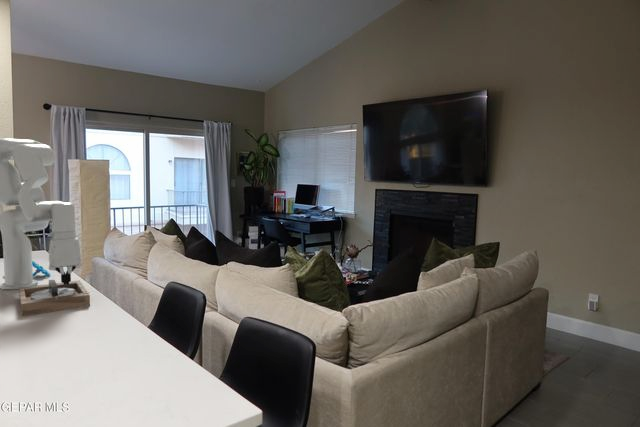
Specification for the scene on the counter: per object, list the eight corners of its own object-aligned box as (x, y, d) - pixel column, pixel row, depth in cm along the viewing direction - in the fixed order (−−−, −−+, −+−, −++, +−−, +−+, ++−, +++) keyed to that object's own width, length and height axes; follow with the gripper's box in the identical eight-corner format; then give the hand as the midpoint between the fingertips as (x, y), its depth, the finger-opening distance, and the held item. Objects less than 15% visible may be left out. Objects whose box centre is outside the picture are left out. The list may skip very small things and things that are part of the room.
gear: (50, 275, 192) (30, 260, 189) (39, 285, 190) (19, 270, 187) (53, 273, 202) (34, 258, 199) (42, 283, 200) (23, 268, 197)
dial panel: (19, 298, 163) (18, 287, 163) (80, 290, 175) (79, 279, 174) (22, 315, 144) (21, 303, 143) (90, 305, 156) (90, 294, 155)
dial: (29, 295, 161) (28, 281, 160) (72, 289, 169) (72, 276, 168) (31, 305, 149) (31, 290, 149) (78, 298, 158) (77, 284, 157)
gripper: (41, 238, 155) (43, 289, 157) (88, 235, 164) (90, 283, 166) (39, 235, 161) (41, 284, 163) (85, 233, 170) (86, 279, 172)
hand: (66, 283), depth 165 cm, fingers closed
